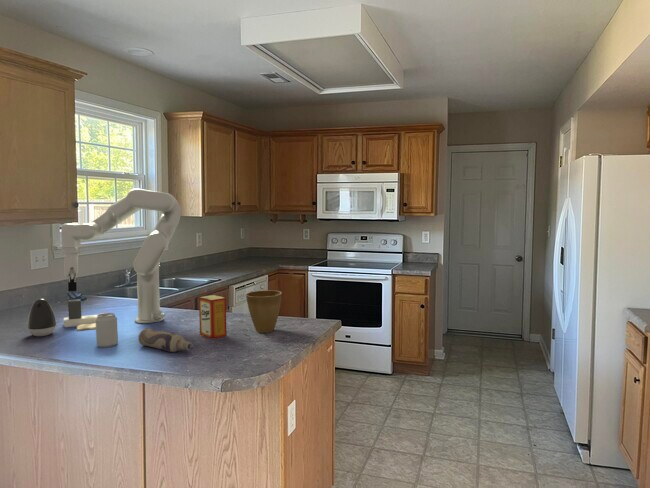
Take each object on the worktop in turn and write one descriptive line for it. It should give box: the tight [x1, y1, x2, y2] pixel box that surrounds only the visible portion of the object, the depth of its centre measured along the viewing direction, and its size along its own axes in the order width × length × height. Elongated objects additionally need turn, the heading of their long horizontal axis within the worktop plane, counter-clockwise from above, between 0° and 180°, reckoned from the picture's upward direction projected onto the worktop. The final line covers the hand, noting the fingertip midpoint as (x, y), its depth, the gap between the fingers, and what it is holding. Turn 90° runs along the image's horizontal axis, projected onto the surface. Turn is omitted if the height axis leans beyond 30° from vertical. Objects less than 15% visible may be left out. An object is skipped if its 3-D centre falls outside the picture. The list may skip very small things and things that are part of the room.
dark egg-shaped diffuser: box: [27, 298, 57, 337], centre depth 204 cm, size 10×10×15 cm
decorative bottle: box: [138, 327, 196, 353], centre depth 181 cm, size 26×8×7 cm, turn 58°
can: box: [95, 312, 119, 348], centre depth 188 cm, size 8×8×12 cm
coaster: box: [76, 323, 96, 332], centre depth 216 cm, size 8×8×1 cm
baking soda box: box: [198, 294, 228, 340], centre depth 201 cm, size 10×6×16 cm
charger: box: [67, 298, 82, 320], centre depth 221 cm, size 5×4×8 cm
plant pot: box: [245, 289, 282, 334], centre depth 208 cm, size 15×15×16 cm
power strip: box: [63, 312, 104, 328], centre depth 224 cm, size 18×6×5 cm, turn 117°
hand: (72, 289), depth 221 cm, fingers open, 9 cm apart
